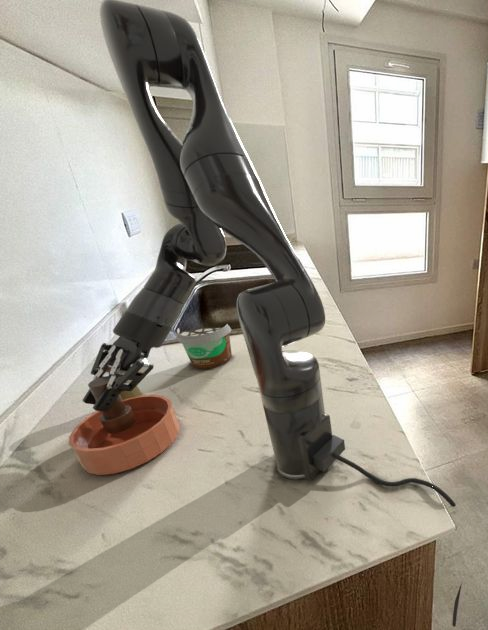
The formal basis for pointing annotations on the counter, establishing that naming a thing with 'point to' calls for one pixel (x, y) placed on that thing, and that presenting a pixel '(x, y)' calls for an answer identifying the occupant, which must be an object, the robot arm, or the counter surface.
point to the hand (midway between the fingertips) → (95, 406)
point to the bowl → (126, 437)
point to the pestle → (113, 409)
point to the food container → (206, 346)
